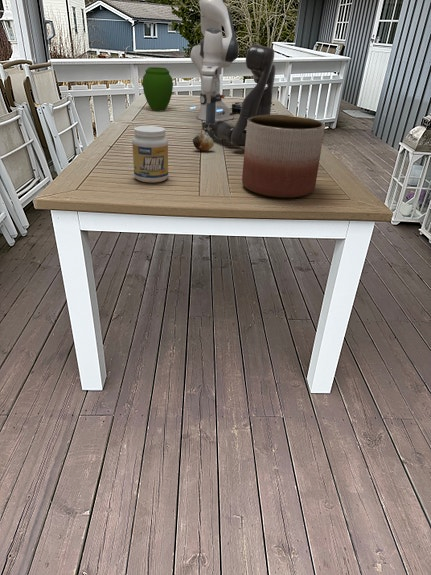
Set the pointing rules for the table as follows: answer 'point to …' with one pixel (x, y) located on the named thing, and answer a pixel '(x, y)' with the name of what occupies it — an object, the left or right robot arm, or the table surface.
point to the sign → (237, 107)
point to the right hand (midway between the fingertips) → (207, 123)
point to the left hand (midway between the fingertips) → (211, 101)
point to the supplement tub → (150, 154)
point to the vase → (157, 88)
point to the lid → (213, 99)
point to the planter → (282, 155)
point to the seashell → (203, 142)
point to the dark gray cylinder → (210, 116)
